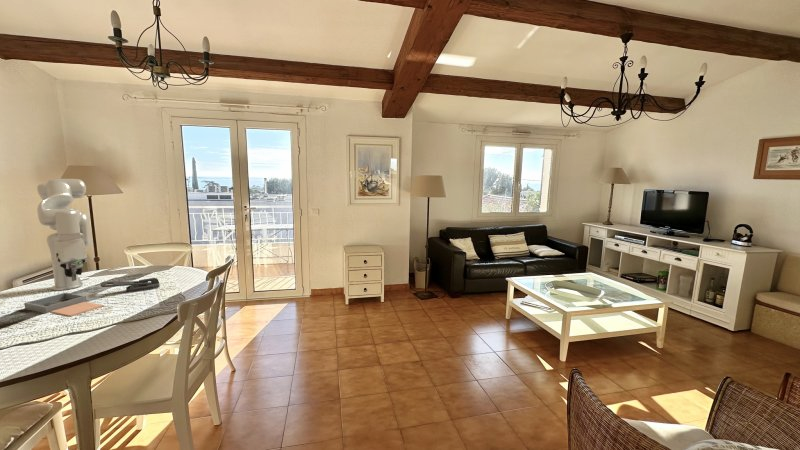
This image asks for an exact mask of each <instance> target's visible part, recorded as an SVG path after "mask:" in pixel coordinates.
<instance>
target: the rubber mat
mask: <svg viewBox="0 0 800 450" xmlns="http://www.w3.org/2000/svg"><path fill="white" fill-rule="evenodd" d="M104 306H105V305H104V304H99V303H94V302H90V301H88V302H82V303H78V304H75V305H71V306H67V307H64V308H60V309H57V310H53V311H51V312H50V314H51V313H52V314H57V315H62V316H67V317H74V316H77V315H80V314H83V313H88V312H91V311H92V310H93V311H95V310H97V309H100V308H103V307H104Z"/></svg>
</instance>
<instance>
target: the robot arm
mask: <svg viewBox="0 0 800 450" xmlns="http://www.w3.org/2000/svg"><path fill="white" fill-rule="evenodd" d="M36 190H37V193H38V195H39V198H41V201H40V202H39V204H38V205H37V207H36V210H37V219H38V222H39V223H40V225H43V226H49V228H50V230H54V231H56V232H54V233H50V234H49V235H48V236H47V237H46V242H47V243H46V244H47V246H48V249H49V253H50V257H51V263H52V264H51V265H52V266H51V267H52V273H53V280H54V285H53V286H51V287H50V288H51V290H52V291H66V290H72V289H76V288H80V287H82V286H83V284H84V283H83V281H88V280H89V279H90V277H89V276H84V277H83V276H81V275H82V273H83V269H82V268H83V267H82V268H78V269H77V271H76V279H77V281H76V280H75V281H72V270H71V268H70V262H72V261H82V262H83V265H84V264H85V263H86V262H87V261H88V260H90V259H91V258H90V257H89V255H88V253H87V252H88V251H87V247H89V246H91V242H92V239H91V238H92V237H91V236H92V235H91V227H90V221H89V217H88V215H87V213H84V212H82V211H80V210H79V209H77V208H70V205H71V204H72V203H73V201H74V199H82V198H83V197H84V196H85V195H86V193H87V186H86V184H85V182H84V181H83V180H82V179H79V178H52V179H49V180H47V181H46V182H43V183H39V184H38V185H37V187H36Z"/></svg>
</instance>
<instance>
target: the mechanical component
mask: <svg viewBox="0 0 800 450" xmlns="http://www.w3.org/2000/svg"><path fill="white" fill-rule="evenodd" d="M83 267H84V264H83V262H82V261H72V262H70V268H71V270H72V281H75V280H76V281H77V279H76V271H77V269H78V268H83Z"/></svg>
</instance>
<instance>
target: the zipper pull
mask: <svg viewBox="0 0 800 450" xmlns="http://www.w3.org/2000/svg"><path fill="white" fill-rule="evenodd" d="M125 286H126V287H125ZM100 287H102V288H111V287H112V288H113V287H114V288H115V287H125V288H126V289H125V290H126V291H125V292H126V293H129V292H130V293H137V292H143V291H150V290H155V289H159V288H160V280H159V279H158V278H157V277H151V278H150V277H149V278H143V279H139V280H134V281H133V280H132V281H127V280H125V281H102V282H100Z"/></svg>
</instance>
